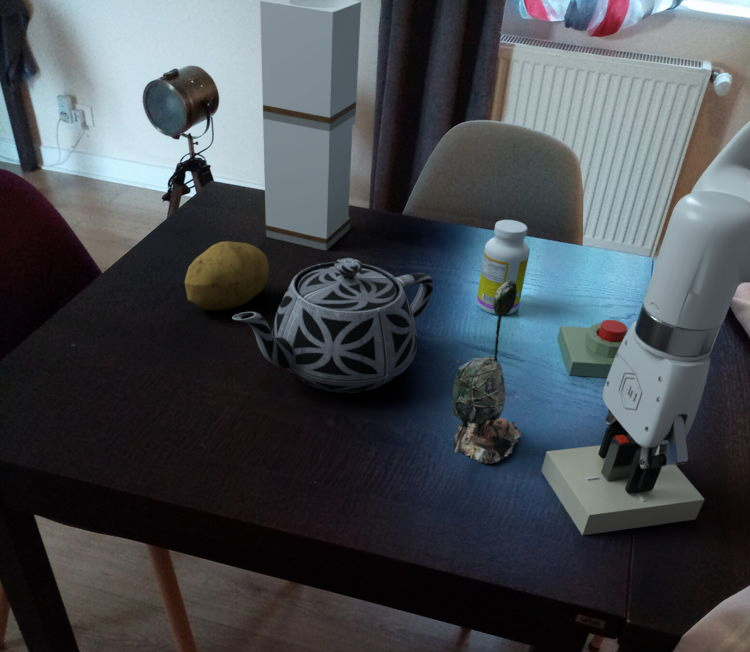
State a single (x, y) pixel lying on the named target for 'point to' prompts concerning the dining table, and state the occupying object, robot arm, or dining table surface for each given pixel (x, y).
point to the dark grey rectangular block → (622, 457)
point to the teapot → (344, 326)
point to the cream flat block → (616, 493)
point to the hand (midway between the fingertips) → (624, 471)
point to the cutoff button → (612, 331)
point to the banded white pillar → (308, 117)
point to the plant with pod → (485, 398)
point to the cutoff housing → (586, 351)
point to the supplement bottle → (503, 263)
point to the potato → (226, 276)
